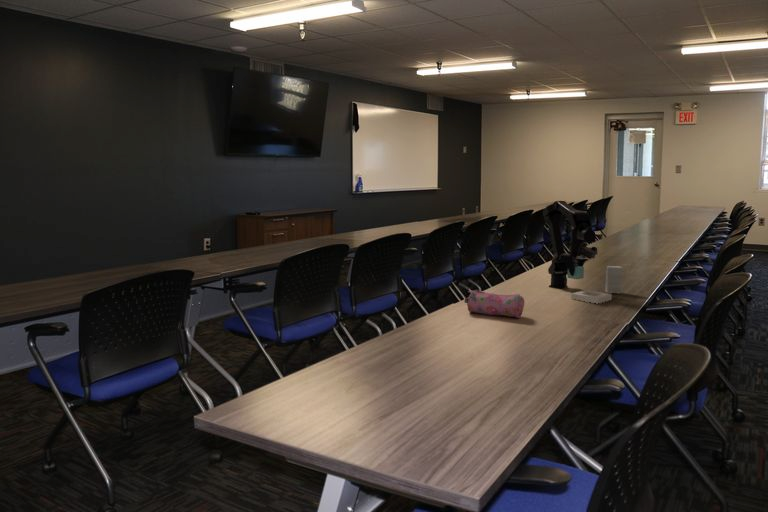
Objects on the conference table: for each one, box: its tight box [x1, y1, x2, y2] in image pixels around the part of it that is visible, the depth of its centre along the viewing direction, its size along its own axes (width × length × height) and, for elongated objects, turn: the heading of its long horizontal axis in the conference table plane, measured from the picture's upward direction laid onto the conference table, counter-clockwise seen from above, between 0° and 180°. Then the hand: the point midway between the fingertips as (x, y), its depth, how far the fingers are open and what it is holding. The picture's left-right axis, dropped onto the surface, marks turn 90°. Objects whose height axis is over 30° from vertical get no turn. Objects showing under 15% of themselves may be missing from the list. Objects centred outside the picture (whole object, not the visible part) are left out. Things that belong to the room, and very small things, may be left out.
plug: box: [566, 264, 585, 280], centre depth 269 cm, size 5×5×6 cm
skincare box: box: [604, 265, 623, 295], centre depth 274 cm, size 6×4×12 cm
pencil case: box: [464, 289, 525, 319], centre depth 231 cm, size 21×9×9 cm, turn 62°
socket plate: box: [570, 289, 613, 305], centre depth 260 cm, size 12×12×2 cm
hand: (575, 275), depth 270 cm, fingers closed on plug, 5 cm apart
